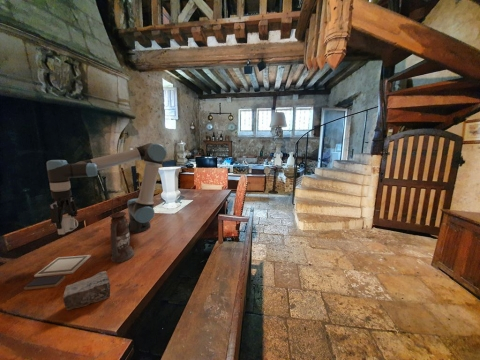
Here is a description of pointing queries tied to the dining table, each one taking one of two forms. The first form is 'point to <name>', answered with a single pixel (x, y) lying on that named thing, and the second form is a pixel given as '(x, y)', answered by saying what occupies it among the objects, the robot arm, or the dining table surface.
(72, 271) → the board
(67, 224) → the cup
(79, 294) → the stone block
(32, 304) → the dining table surface
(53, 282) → the ink pad
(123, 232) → the lantern
